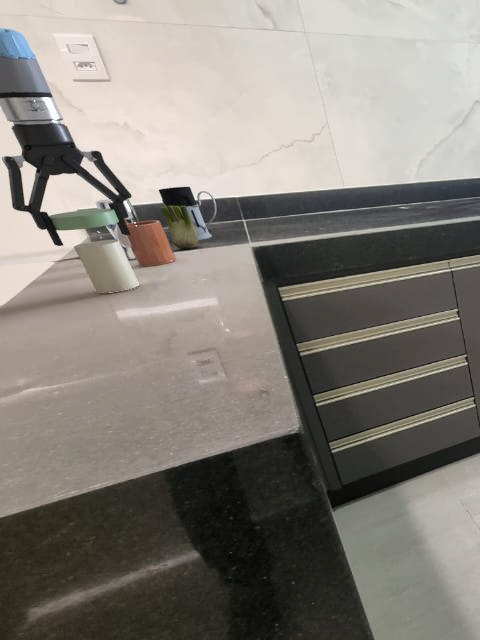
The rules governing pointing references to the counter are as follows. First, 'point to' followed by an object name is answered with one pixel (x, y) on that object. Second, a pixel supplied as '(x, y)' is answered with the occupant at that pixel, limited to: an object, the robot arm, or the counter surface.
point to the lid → (84, 219)
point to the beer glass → (115, 228)
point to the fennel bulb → (180, 227)
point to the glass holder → (188, 207)
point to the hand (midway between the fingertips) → (94, 239)
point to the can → (107, 266)
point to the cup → (149, 243)
